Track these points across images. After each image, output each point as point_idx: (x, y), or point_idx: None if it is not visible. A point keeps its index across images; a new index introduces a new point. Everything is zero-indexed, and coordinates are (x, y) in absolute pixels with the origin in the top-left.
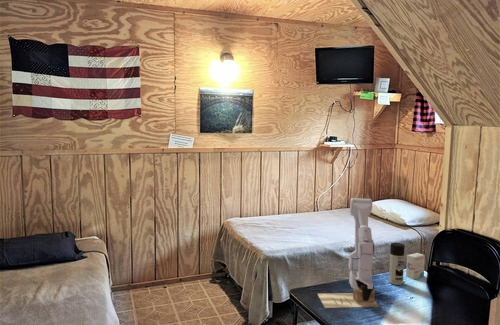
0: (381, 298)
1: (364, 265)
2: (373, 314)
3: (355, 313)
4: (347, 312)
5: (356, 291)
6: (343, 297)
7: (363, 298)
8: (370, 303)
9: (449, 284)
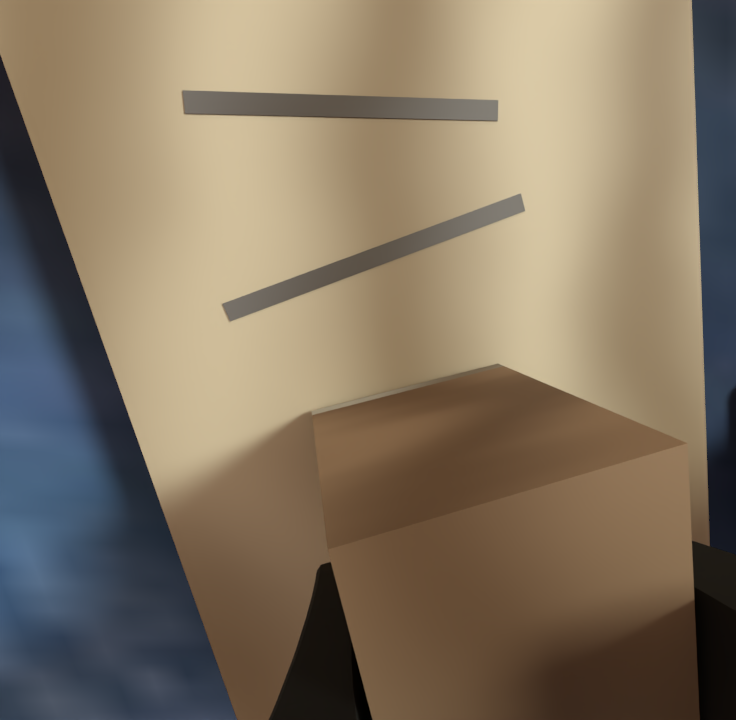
0: None
1: None
2: (79, 627)
3: (17, 355)
4: (10, 208)
5: (381, 522)
6: (522, 178)
7: (312, 595)
8: None
9: None
